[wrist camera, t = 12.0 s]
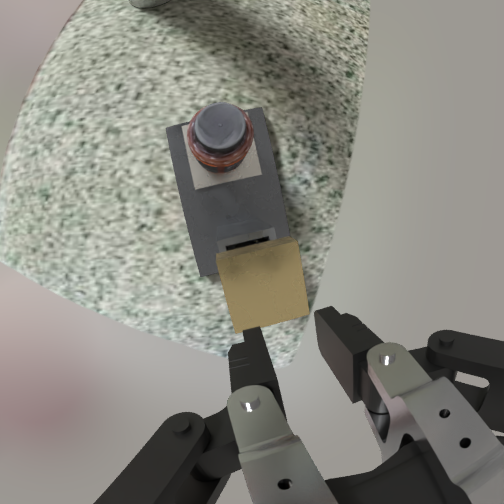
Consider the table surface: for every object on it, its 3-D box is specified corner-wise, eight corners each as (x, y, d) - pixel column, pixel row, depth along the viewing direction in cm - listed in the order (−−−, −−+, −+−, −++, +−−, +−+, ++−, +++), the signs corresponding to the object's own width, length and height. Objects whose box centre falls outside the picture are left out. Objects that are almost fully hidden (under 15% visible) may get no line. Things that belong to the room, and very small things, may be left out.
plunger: (217, 232, 28) (215, 260, 16) (264, 221, 28) (297, 240, 16) (228, 278, 29) (235, 333, 17) (274, 267, 29) (309, 314, 17)
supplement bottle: (253, 137, 30) (272, 109, 19) (232, 182, 31) (240, 174, 20) (207, 118, 29) (203, 81, 18) (186, 162, 30) (169, 145, 19)
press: (168, 131, 31) (145, 102, 19) (259, 111, 32) (279, 75, 20) (201, 272, 35) (194, 309, 24) (289, 251, 36) (322, 277, 25)
